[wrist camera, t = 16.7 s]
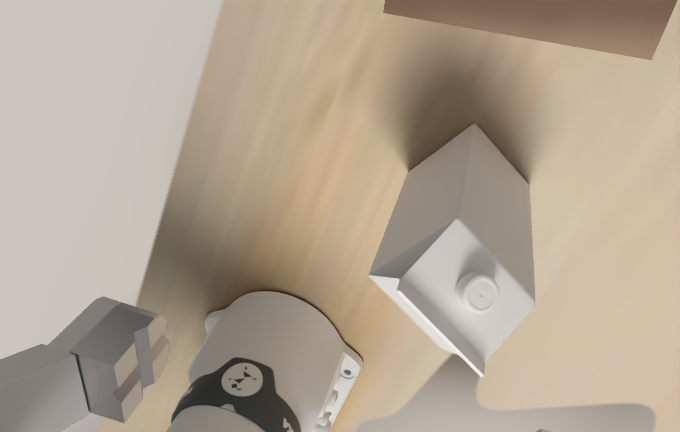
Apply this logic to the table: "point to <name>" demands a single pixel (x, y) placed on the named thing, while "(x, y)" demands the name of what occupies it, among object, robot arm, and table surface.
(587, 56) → the table surface
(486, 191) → the milk carton
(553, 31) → the block
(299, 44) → the table surface
